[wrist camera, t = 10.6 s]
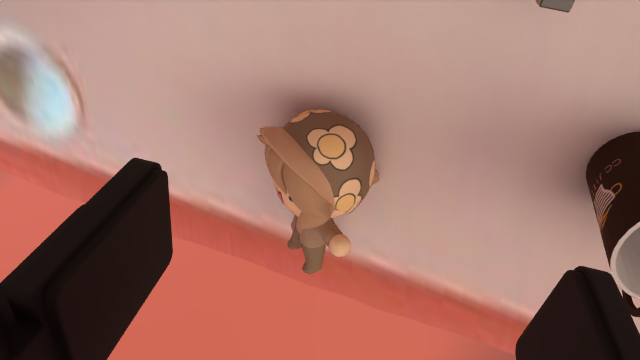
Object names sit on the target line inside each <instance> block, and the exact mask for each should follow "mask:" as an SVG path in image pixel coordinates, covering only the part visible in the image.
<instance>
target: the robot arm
mask: <svg viewBox="0 0 640 360" xmlns="http://www.w3.org/2000/svg"><path fill="white" fill-rule="evenodd" d="M172 253H173V249H172V233H171V218H170V203H169V189H168V176H167V173H166V171H162V169H161V166H160V164H158V163H155V162H151V161H147V160H143V159H139V158H133V159H131V160H130V161H129V162H128V163H127V164H126V165H125V166H124V167H123V168H122V169H121V170H120V171H119V172H118V173H117V174H116V175H115V176H114V177H113V178H112V179H111V180H110V181H109V182H107V183H106V184H105V185H104V186H103V187H102V188H101V189H100V190H99V191H98V192H97V193H96V194H95V195H94V196H93V197H92V198H91V199H90V200H89V201H88V202H87V203H86V204H84V205H82V206H81V207H79V208H78V209H77V210H76V211H75V212H74V213H73V214H71V216H69V217H68V218H67V219H66V220H65V221H64V222H63V223H62V224H61V225H60V226H59V227H58V228H57V229H56V230H55V231H54V232H53V233H52V234H51V235H50V236H49V237H48V238H47V239H46V240H45V241H44V242H42V243H41V244H40V246H39V247H37V248H36V249H35V250H34V251H33V252H32V253H31V254H30V255H29V256H28V257H27V258H26V259H25V260H24V261H23V262H22V263H21V264H20V265H19V266H18V267H17V268H16V269H15V270H14V271H12V273H11V274H9V275H8V276H7V277H6V278H5V279H4V280H3V281H2V282H1V283H0V360H107V358H108V357H109V355H110V354H111V352H112V351H113V349H114V348H115V346H116V345H117V343H118V341H119V340H120V338H121V337H122V335H123V334H124V332H125V331H126V329H127V328H128V326H129V325H130V323H131V321H132V320H133V319H134V317H135V315H136V314H137V312H138V311H139V309H140V308H141V306H142V305H143V303H144V302H145V300H146V299H147V297H148V296H149V294H150V293H151V291H152V289H153V288H154V286H155V285H156V283H157V282H158V280H159V279H160V277H161V276H162V274H163V273H164V271H165V270H166V268H167V266H168V265H169V263H170V261H171V258H172ZM515 353H516V360H640V334H639V332H638V330H637V328H636V325H635V323H634V321H633V319H632V317H631V315H630V313H629V310H628V308H627V306H626V304H625V302H624V300H623V298H622V296H621V293H620V291H619V289H618V287H617V285H616V283H615V281H614V278H613V277H612V275H611V274H610V273H608V272H605V271H601V270H597V269H592V268H588V267H584V266H579V267H577V268H575V269H574V270H568V271H567V272H566V273H565V274H564V275H563V277H562V278H561V279H560V281H559V282H558V284H557V285H556V287H555V288H554V289H553V291H552V292H551V294H550V295H549V296H548V298H547V299H546V301H545V302H544V304H543V305H542V306H541V308H540V309H539V311H538V312H537V313H536V315H535V316H534V318H533V319H532V321H531V322H530V323H529V325H528V326H527V328H526V329H525V330H524V332H523V333H522V335H521V336H520V337H519V339H518V341H517V344H516V350H515Z"/></svg>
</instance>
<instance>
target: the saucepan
mask: <svg viewBox="0 0 640 360" xmlns="http://www.w3.org/2000/svg"><path fill="white" fill-rule="evenodd" d="M574 1H575V0H536V3H537V4H538V5H539V6H540V7H543V8H548V9H553V10H558V11H563V12H570V10H571V8H572V5H573V3H574Z"/></svg>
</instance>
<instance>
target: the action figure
mask: <svg viewBox="0 0 640 360" xmlns="http://www.w3.org/2000/svg"><path fill="white" fill-rule="evenodd" d="M260 134H261V135H257V137H258V139H259V140H260V141H261V142H262V143H264V144H265V145H266V147H265V159H266V163H267V166H268V169H269V171H270V174H271V176H272V178H273V182H274V186H275V189H276V192H277V194H278V196H279V198H280V200H281V201H282V203H283V204H284V205H285V206H286V207H287V208H288V209H289V210H290V211H291V212H292V213H293V214H294V219H293V222H292V224H291V227H292V230H293V234H292V237H291V239H290V240H289V241H288V247H289V248H290V249H297V248H300V247H303V251H304V255H305V260H306V261H305V264H304V265H303V268H302V269H303V271H304V272H305V273H308V274H311V273H315V272H317V271H319V270H321V269H322V263H323V257H324V252H325V246H326V245H327V246H329V250H330V252H331V253H332V254H333V255H334V256H336V257H343V256H345V255H347V254H348V253H349V251H350V249H351V243H350V240H349V239H348V238H347V237H346V236H345V235H343V234H342V232H341V231H340V230H339V228H338V227H337V226H336V225H335V223H334V221H333V219H332V218H334V217H337V216H339V215H342V214H344V213H351V212H352V211H353V210H354V209H355V208H356V207H357V206H358V205H359V204H360V203H361V201H362V200H363V199H364V197H365V196H366V194H367V192H368V191H369V189H370V187H371V186H372V184H374V183H376V182H377V181H378V180H379V175H378V173H377V171H376V170H375V160H374V152H373V148H372V146H371V143H370V141H369V139H368V137H367V135H366V134H365V132H364V131H363V130H362V129H361V128H360V126H359V125H357V124H356V123H355V122H353V121H352V120H350V119H349V118H347V117H346V116H343V115H340V114H337V113H334V112H332V111H329V110H320V109H313V110H308V111H305V112H303V113H301V114H299V115H297V116H296V117H294V118H293V119H292V120H291V121H290V122H289V123H288V124H287V125H285V126H284V127H283V128H276V127H263V128H260Z"/></svg>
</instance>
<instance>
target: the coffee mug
mask: <svg viewBox="0 0 640 360" xmlns="http://www.w3.org/2000/svg"><path fill="white" fill-rule="evenodd" d="M586 179H587V182H588V186H589V190H590V194H591V198H592V202H593V205H594V209H595V213H596V217H597V221H598V224H599V228H600V232H601V236H602V240H603V243H604V247H605V251H606V255H607V259H608V262H609V266H610V270H611V273H612V276H613V278H614V280H615V282H616V283H617V285H618V286H619V287H620V288H621V289H622V294H623V300H624V302H625V304H626V306H627V308H628V310H629V313H630V314H631V315H632V316H634V317H640V308H636V307H635V305H634V304H633V301H632V298H631V296H632V297H634V298H636V299H638V300H640V132H634V133H628V134H625V135H622V136H619V137H617V138H615V139H612V140H610V141H609V142H607V143H606V144H604V145H603V146H601V147H600V148H599V149H598V150H597V151H596V152H595V153H594V155H593V156H592V157H591V159H590V161H589V163H588V165H587V170H586Z"/></svg>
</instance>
